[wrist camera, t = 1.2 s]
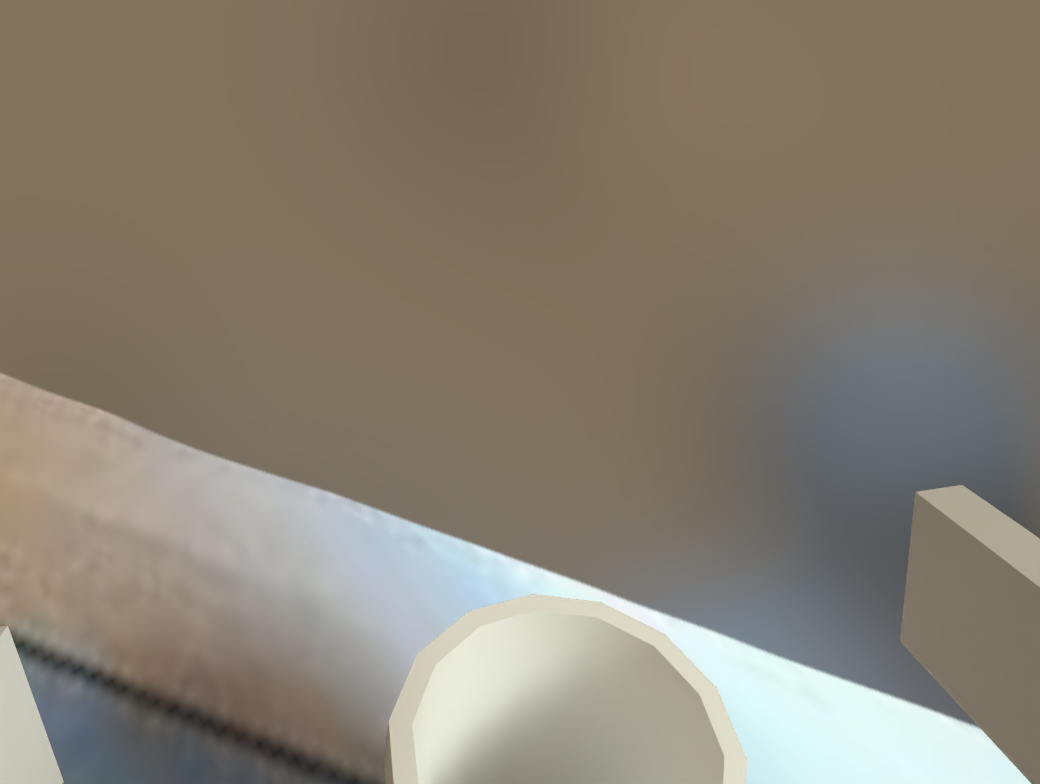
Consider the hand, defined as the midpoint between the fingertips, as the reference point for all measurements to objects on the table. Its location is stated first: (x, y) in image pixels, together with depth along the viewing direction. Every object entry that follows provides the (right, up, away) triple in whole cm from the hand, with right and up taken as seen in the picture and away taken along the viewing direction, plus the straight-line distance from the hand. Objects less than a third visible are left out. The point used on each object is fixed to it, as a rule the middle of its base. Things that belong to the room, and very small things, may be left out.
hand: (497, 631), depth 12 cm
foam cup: (0, -16, +17) cm, 24 cm away
